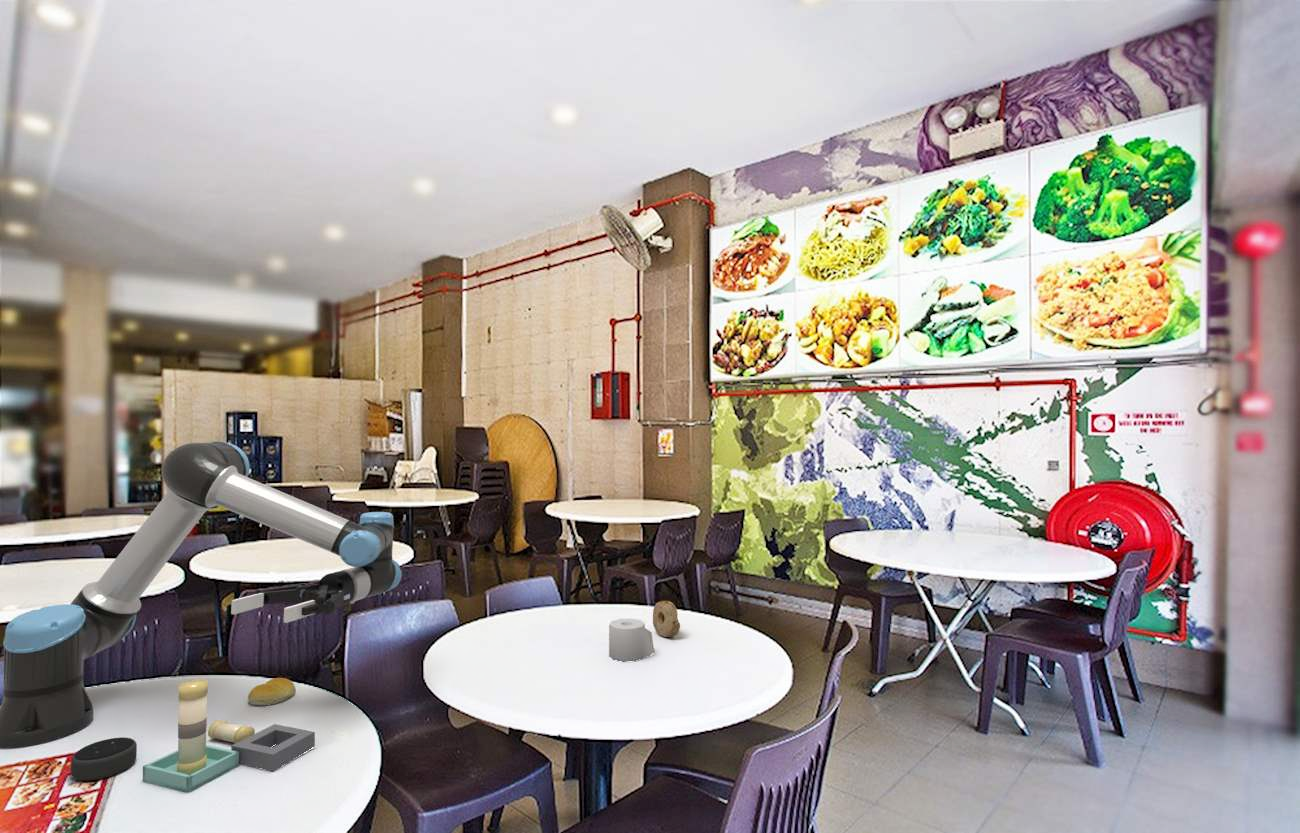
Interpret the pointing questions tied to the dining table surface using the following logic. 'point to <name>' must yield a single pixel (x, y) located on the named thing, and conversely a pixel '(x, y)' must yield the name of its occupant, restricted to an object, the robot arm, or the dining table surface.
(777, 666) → the dining table surface
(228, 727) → the fuse
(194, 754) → the fuse
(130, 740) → the smart speaker
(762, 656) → the dining table surface
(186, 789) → the parts tray
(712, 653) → the dining table surface
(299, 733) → the socket block
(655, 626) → the stone disc
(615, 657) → the toilet tissue
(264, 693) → the bread roll
